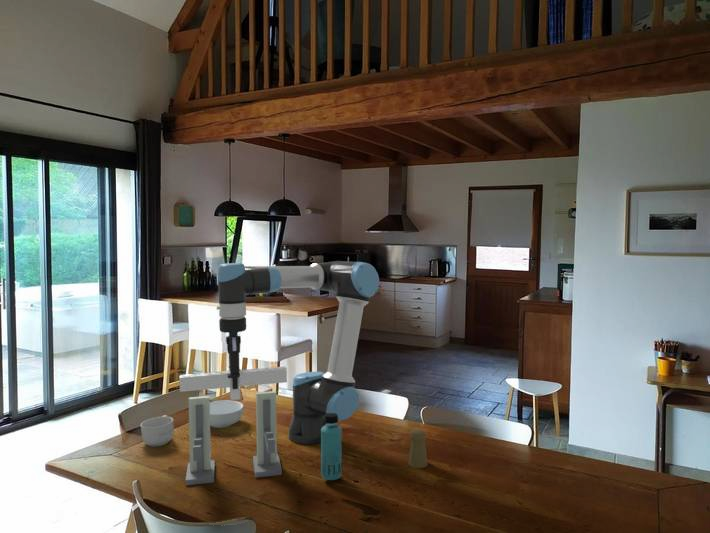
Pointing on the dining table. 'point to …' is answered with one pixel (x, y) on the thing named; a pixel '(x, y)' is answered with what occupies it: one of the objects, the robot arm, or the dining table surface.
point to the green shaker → (418, 449)
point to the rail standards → (199, 437)
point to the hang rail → (222, 381)
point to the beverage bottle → (331, 448)
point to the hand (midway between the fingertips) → (235, 397)
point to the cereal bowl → (225, 413)
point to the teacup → (157, 431)
